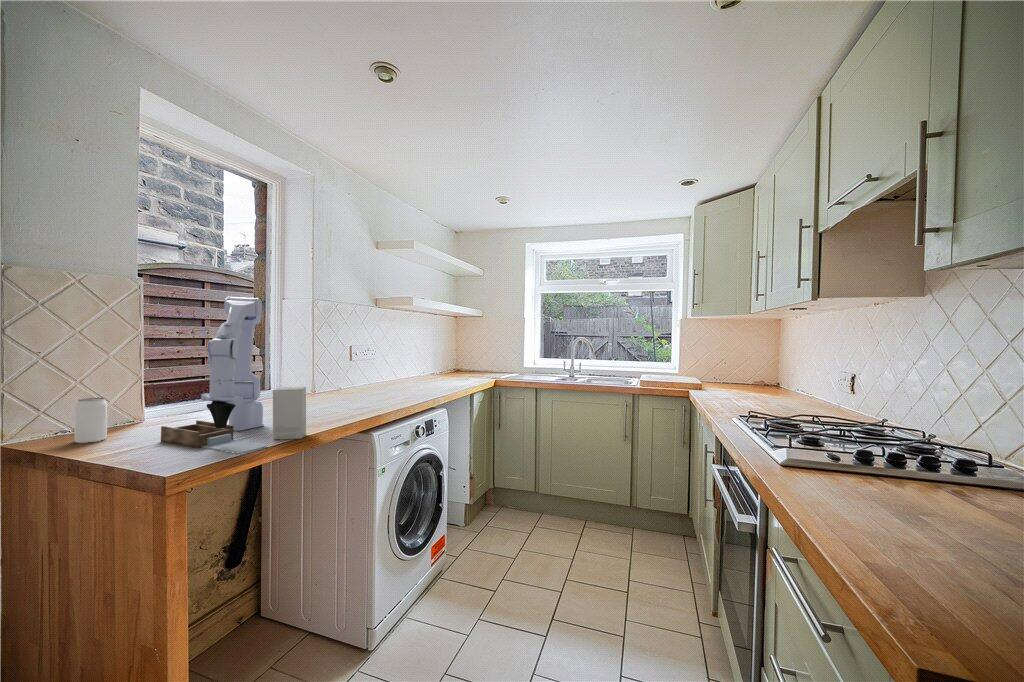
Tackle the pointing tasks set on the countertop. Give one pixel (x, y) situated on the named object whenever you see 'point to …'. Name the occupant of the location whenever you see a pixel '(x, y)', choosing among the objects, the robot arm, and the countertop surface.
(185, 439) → the walnut box
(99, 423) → the can
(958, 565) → the countertop surface
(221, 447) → the cover plate
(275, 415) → the skincare box
